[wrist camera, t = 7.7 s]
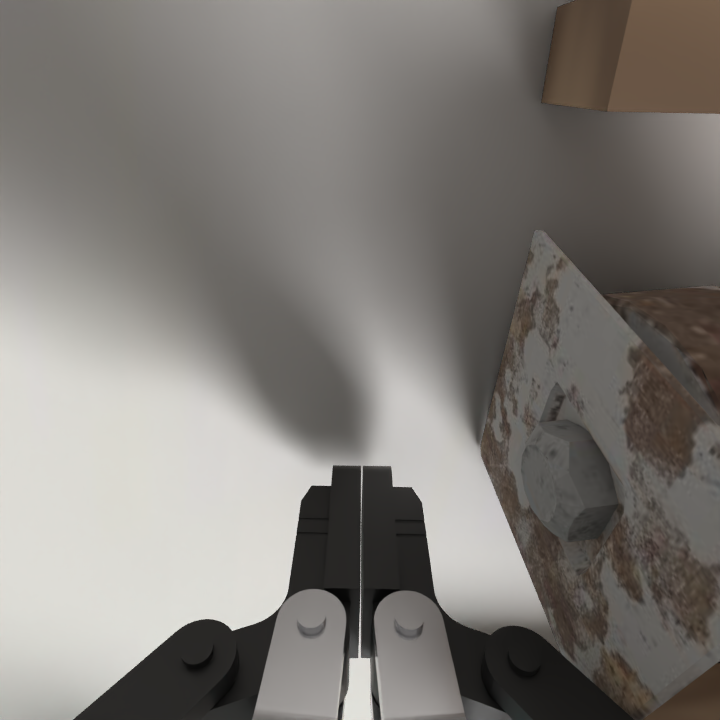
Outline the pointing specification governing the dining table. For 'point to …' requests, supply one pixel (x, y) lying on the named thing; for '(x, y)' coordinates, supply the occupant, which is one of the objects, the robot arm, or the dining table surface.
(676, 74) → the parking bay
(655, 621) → the caster wheel
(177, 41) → the dining table surface
